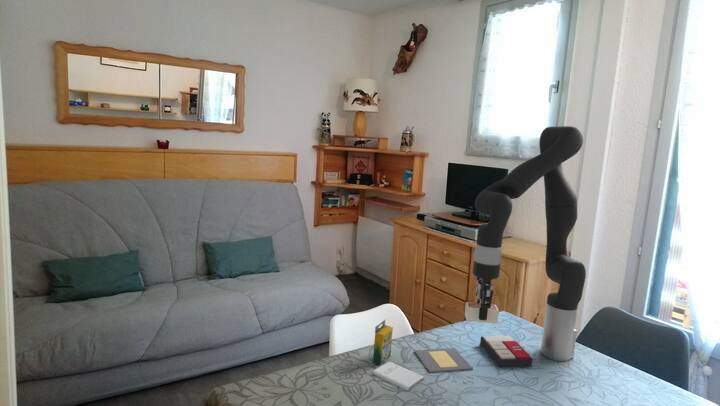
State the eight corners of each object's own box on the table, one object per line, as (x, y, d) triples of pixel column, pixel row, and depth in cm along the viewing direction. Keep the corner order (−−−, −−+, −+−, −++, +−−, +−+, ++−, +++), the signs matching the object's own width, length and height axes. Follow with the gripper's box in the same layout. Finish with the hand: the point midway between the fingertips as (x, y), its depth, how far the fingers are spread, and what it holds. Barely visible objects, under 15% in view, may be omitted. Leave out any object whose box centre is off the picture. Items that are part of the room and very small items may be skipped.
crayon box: (381, 365, 134) (383, 329, 133) (372, 363, 136) (374, 326, 134) (391, 356, 141) (393, 321, 139) (382, 353, 142) (385, 319, 140)
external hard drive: (408, 393, 122) (372, 375, 130) (424, 381, 128) (389, 365, 136) (408, 387, 122) (373, 370, 130) (424, 376, 128) (389, 360, 136)
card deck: (494, 317, 134) (495, 304, 133) (497, 323, 129) (498, 310, 129) (464, 314, 135) (465, 301, 134) (466, 320, 130) (467, 307, 130)
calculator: (500, 357, 137) (480, 334, 151) (499, 370, 138) (479, 345, 152) (533, 357, 139) (510, 333, 153) (532, 369, 140) (509, 345, 154)
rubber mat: (454, 349, 148) (454, 347, 148) (472, 369, 135) (473, 367, 135) (414, 351, 144) (414, 350, 144) (429, 372, 132) (429, 370, 132)
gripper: (505, 268, 122) (498, 327, 124) (495, 255, 136) (489, 308, 138) (477, 265, 123) (471, 324, 125) (470, 253, 137) (465, 306, 139)
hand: (481, 315), depth 132 cm, fingers closed on card deck, 4 cm apart
